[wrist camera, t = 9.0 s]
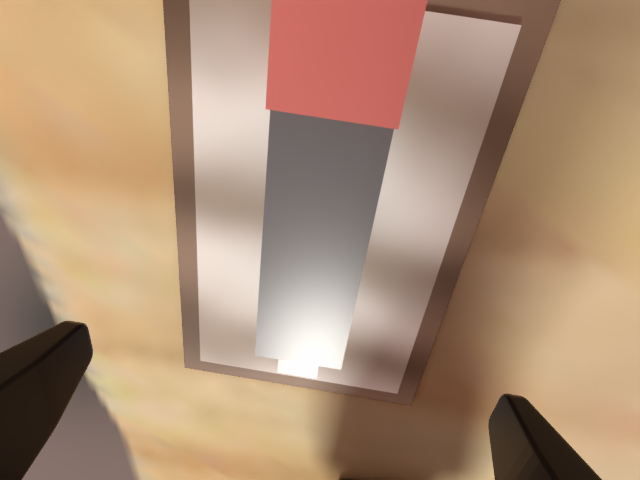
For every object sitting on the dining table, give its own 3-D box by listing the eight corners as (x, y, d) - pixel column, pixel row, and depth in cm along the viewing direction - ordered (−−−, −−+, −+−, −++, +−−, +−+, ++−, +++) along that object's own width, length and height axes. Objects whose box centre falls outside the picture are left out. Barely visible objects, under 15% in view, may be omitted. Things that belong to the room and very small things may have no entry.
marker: (341, 340, 21) (336, 402, 17) (268, 327, 21) (249, 388, 17) (412, 0, 13) (428, -2, 10) (295, -17, 13) (273, -25, 10)
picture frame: (409, 399, 23) (410, 408, 23) (187, 362, 23) (183, 370, 23) (557, -6, 13) (565, -7, 13) (164, -64, 13) (156, -67, 13)
